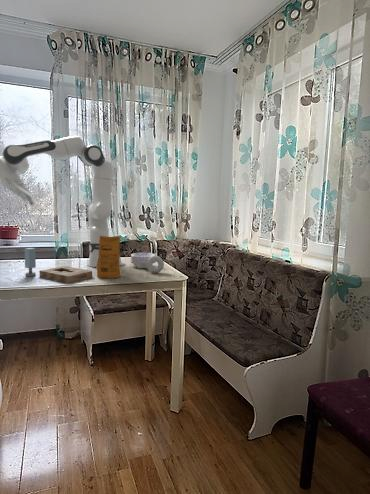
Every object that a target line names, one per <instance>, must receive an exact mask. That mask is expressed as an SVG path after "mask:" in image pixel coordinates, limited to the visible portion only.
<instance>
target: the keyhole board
mask: <svg viewBox="0 0 370 494" xmlns="http://www.w3.org/2000/svg"><path fill="white" fill-rule="evenodd" d="M38 274H39V278H42V279H46V280H51V281H55V280H56V281H55V282H59V281H60V282H59V283H64V282H65V283H64V284H72V283H76V282H80V281H83V280H88V279H91V278H93V270H89V269H85V268H84V269H83V268H78V267H73V266H67V265H62V266H56V267H51V268H46V269H40V270H39V273H38Z"/></svg>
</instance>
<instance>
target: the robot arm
mask: <svg viewBox="0 0 370 494" xmlns="http://www.w3.org/2000/svg"><path fill="white" fill-rule="evenodd" d="M2 152H3V153H2V155H3V156H0V182H1V184H2V185H3V186H4V187H5V188H6V189H7V191H9V192H12V193H13V194H14V195H16V196H18V197H19V198H20V199H22V201H24V202H28V203H29V204H30V206H34V205H35V204H36V203H35V202H34V201H33V199H34V196H33V195H32V193H31V192H30V190H29V189H28V188H27V185H26V184H25V182H24V181H23V179H22V178H21V177H20V176H19V175H22V174H24V173H26V172H27V171H28V170H29V167H30V164H29V161H28V159H27V158H28V157H32V156H37V155H41V154H43V155H44V154H46V155H48V156H50V157H51V158H53V160H56V161H64V160H68V159H70V158H72V157H78V159H79V160H80V162H82V164H83V165H85V166H87V167H91V166H92V168H93V172H94V173H93V178H92V179H93V181H92V191H91V192H92V203H91V204H90V205H89V207H88V220H89V221H88V223H89V230H90V231H89V234H90V235H89V236H90V239H89V241H90V242H89V246H88V248H89V249H88V250H89V257H88V262H87V266H88V267H92V268H97V262H98V258H99V240H100V236H106V237H110V236H109V234H110V233H109V232H110V231H109V230H110V229H109V226H108V219H109V218H110V217H111V215H112V189H113V188H112V187H113V175H114V174H113V173H114V172H113V171H114V170H113V165H112V163H111V162H110V161H108V160H106V158H105V155H104V152H103V151H102V148H100V147H99V146H98V145H96V144H90V145H87V144H85V142H84V139H82V137H80V136H78V135H74V136H73V135H72V136H67V137H66V136H65V137H63V138H59V139H55V140H54V139H53V140H51V139H48V140H39V141H35V142H29V143H24V144H17V143H16V144H14V143H13V144H9V145H7V146H6V147H5V148H4V149H3V151H2ZM119 266H125V262H124V261H122V257H121V256H120V257H119Z"/></svg>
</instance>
